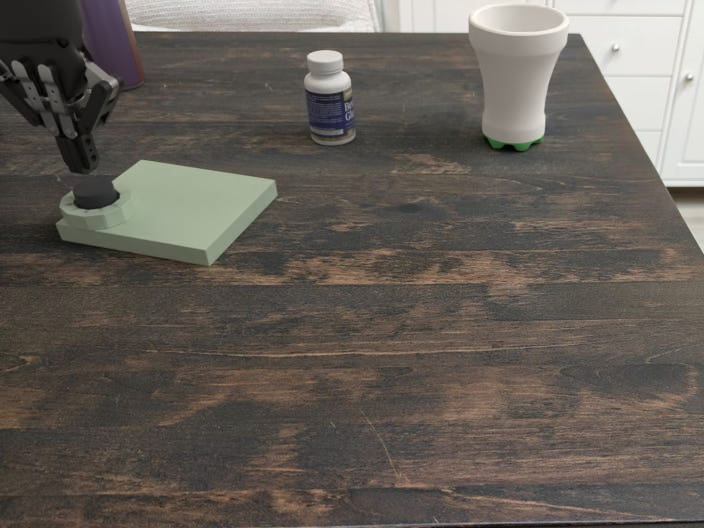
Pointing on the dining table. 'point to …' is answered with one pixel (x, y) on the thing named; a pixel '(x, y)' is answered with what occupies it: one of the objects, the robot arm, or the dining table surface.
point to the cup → (516, 67)
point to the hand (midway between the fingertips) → (85, 170)
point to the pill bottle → (329, 99)
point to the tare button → (95, 194)
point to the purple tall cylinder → (112, 40)
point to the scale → (170, 212)
